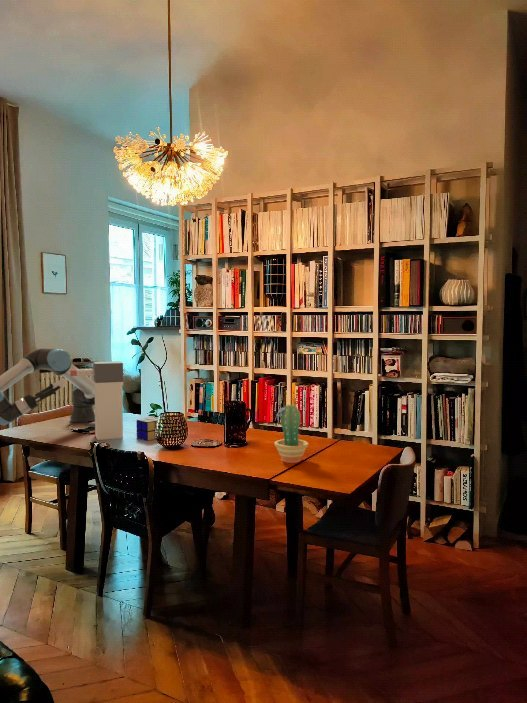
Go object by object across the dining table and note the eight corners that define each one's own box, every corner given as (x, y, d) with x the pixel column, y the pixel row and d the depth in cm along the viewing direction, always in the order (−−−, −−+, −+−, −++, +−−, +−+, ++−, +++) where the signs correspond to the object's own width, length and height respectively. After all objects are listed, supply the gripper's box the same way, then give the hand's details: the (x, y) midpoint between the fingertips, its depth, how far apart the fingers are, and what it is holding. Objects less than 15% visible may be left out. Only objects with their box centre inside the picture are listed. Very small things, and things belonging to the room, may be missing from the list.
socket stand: (96, 440, 280) (95, 363, 278) (94, 434, 293) (93, 361, 291) (124, 438, 285) (123, 363, 283) (120, 433, 298) (119, 361, 296)
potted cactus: (285, 454, 254) (286, 401, 253) (314, 459, 245) (315, 404, 244) (267, 461, 242) (267, 405, 240) (296, 466, 233) (297, 409, 231)
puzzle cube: (136, 438, 286) (136, 419, 285) (152, 435, 293) (151, 417, 293) (147, 441, 279) (147, 422, 279) (163, 438, 286) (163, 419, 286)
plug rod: (70, 376, 279) (70, 370, 278) (70, 375, 281) (70, 369, 281) (120, 374, 288) (120, 368, 288) (119, 373, 291) (119, 368, 291)
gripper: (32, 406, 285) (68, 384, 291) (30, 413, 262) (70, 390, 268) (24, 394, 283) (60, 372, 290) (21, 401, 260) (62, 377, 266)
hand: (65, 381), depth 279 cm, fingers open, 13 cm apart
